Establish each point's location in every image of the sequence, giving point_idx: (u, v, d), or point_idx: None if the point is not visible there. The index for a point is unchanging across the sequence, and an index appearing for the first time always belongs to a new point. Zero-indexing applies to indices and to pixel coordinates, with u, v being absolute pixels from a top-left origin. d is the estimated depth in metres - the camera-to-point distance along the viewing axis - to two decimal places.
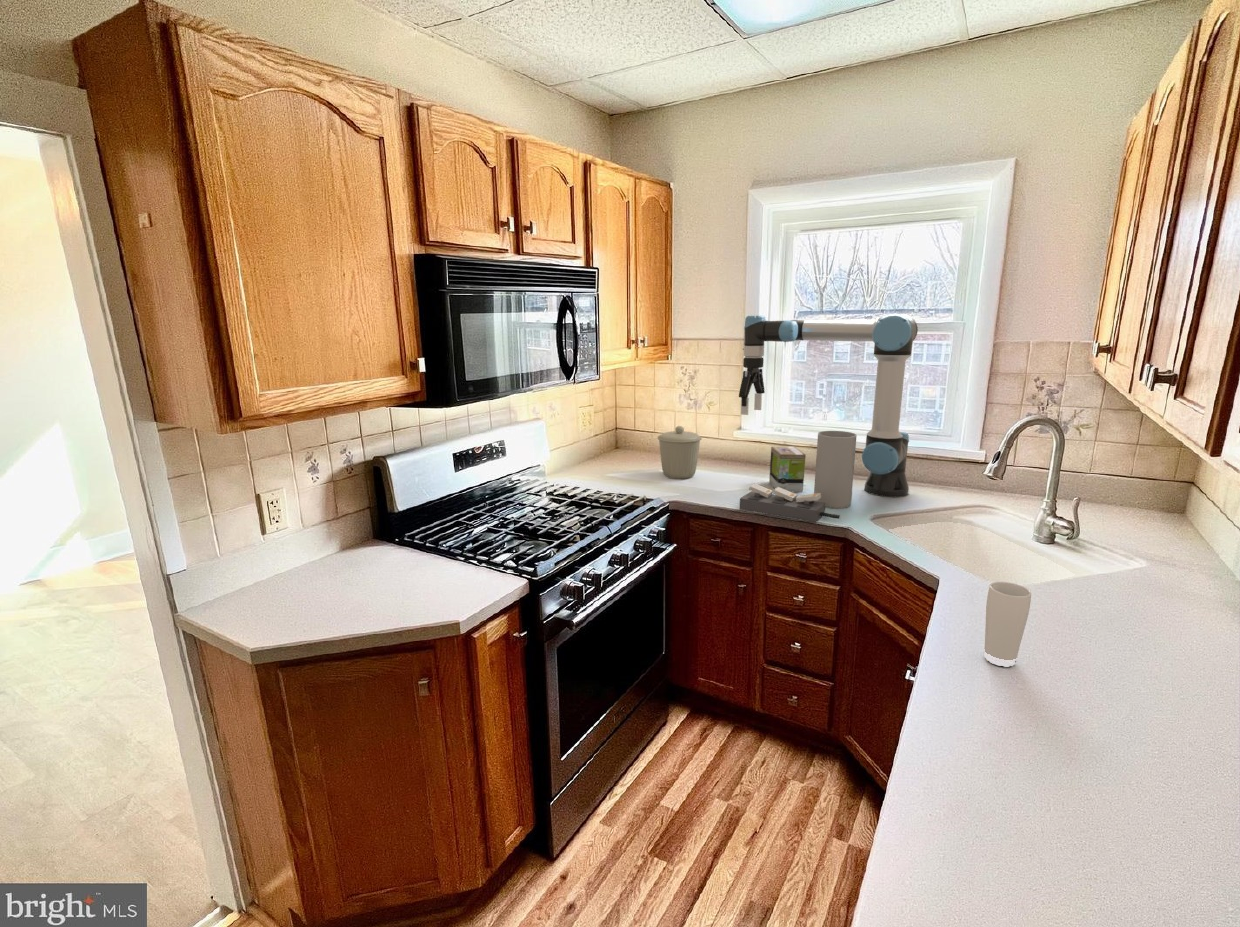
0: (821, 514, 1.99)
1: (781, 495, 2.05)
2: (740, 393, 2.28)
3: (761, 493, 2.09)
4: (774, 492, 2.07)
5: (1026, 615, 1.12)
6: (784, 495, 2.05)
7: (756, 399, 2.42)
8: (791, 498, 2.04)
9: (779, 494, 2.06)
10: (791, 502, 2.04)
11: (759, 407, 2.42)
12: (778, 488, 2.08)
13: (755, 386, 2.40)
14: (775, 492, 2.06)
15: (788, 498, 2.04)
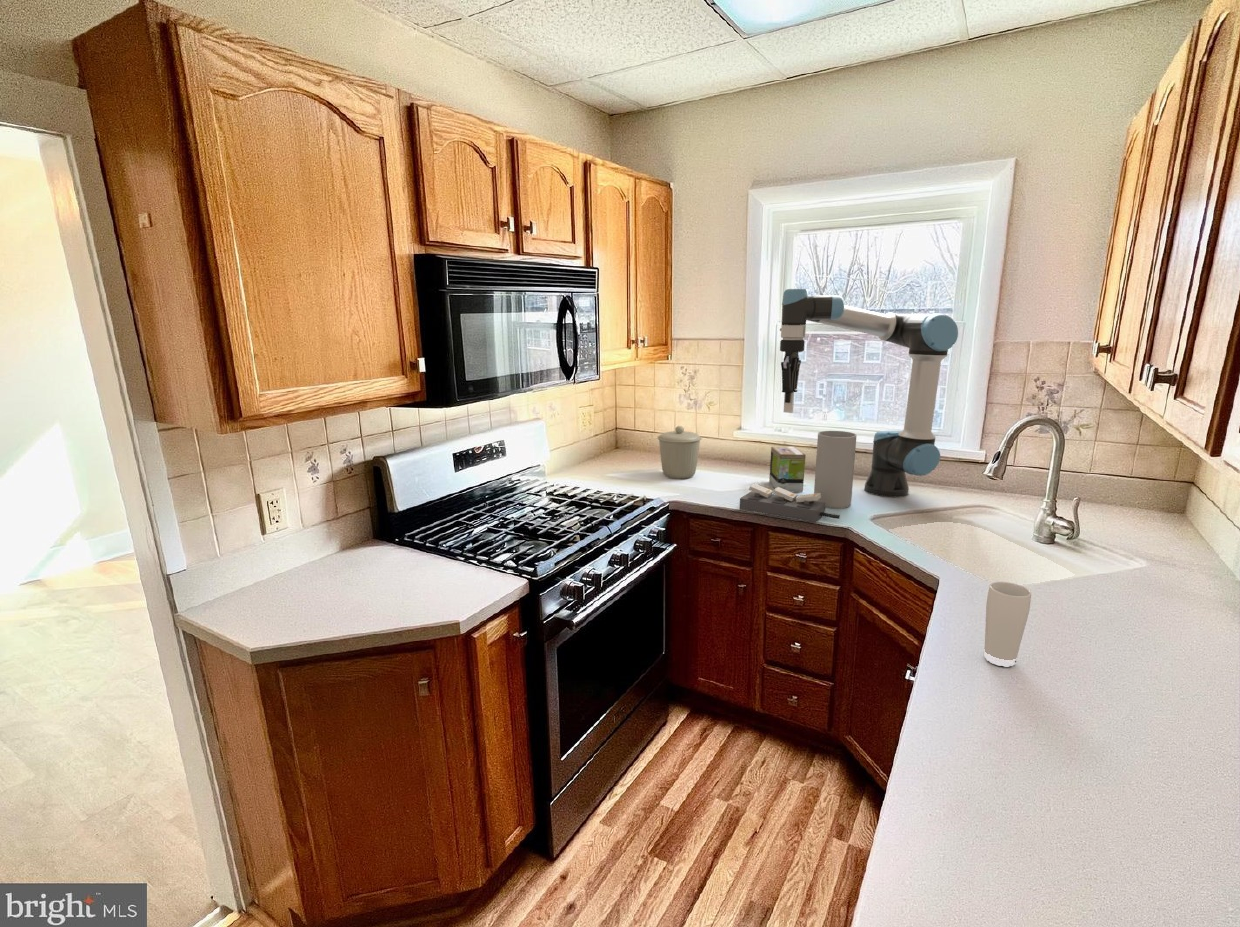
0: (821, 514, 1.99)
1: (781, 495, 2.05)
2: (783, 389, 1.96)
3: (761, 493, 2.09)
4: (774, 492, 2.07)
5: (1026, 615, 1.12)
6: (784, 495, 2.05)
7: None
8: (791, 498, 2.04)
9: (779, 494, 2.06)
10: (791, 502, 2.04)
11: None
12: (778, 488, 2.08)
13: None
14: (775, 492, 2.06)
15: (788, 498, 2.04)
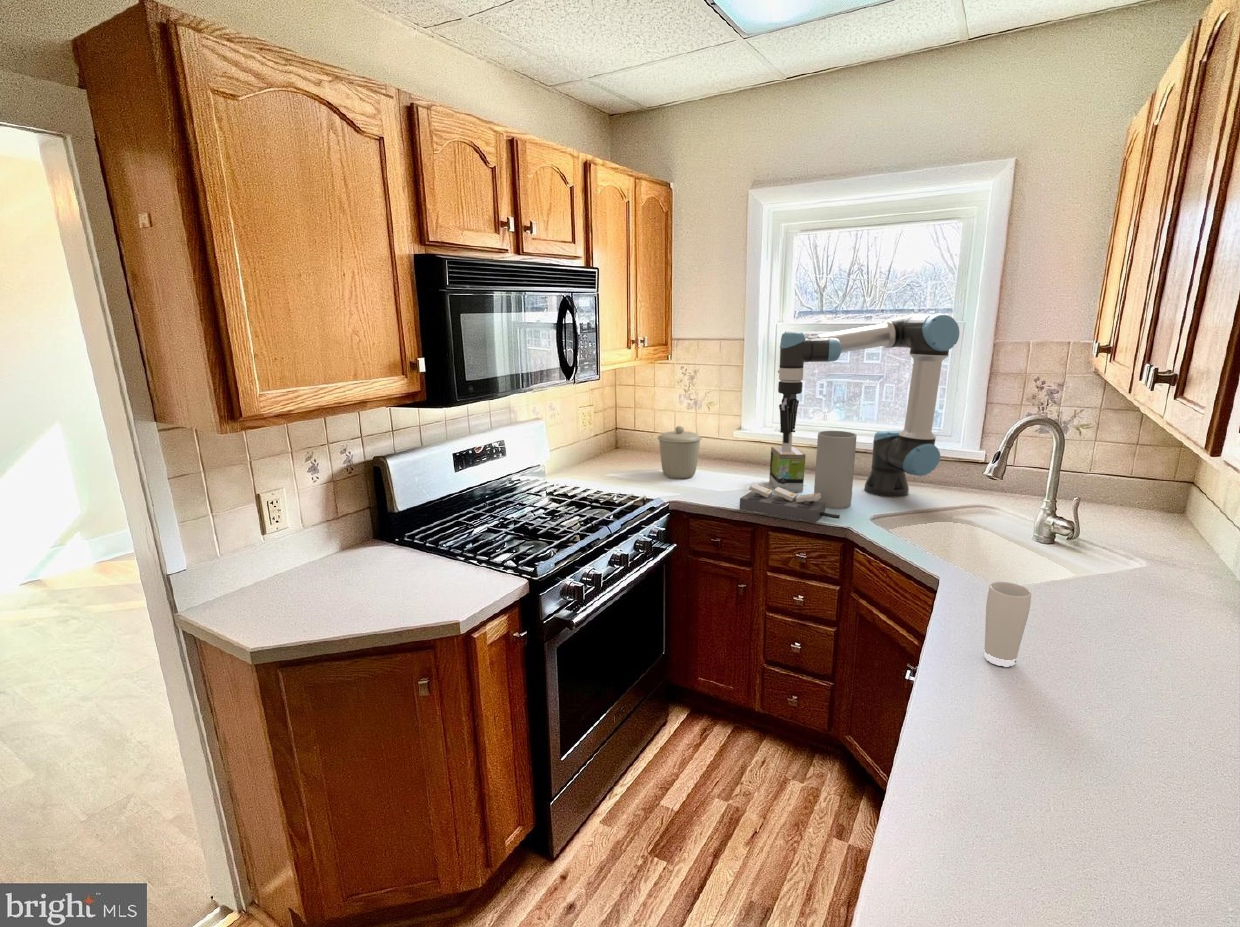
0: (821, 514, 1.99)
1: (781, 495, 2.05)
2: (781, 430, 1.99)
3: (761, 493, 2.09)
4: (774, 492, 2.07)
5: (1026, 615, 1.12)
6: (784, 495, 2.05)
7: None
8: (791, 498, 2.04)
9: (779, 494, 2.06)
10: (791, 502, 2.04)
11: None
12: (778, 488, 2.08)
13: None
14: (775, 492, 2.06)
15: (788, 498, 2.04)
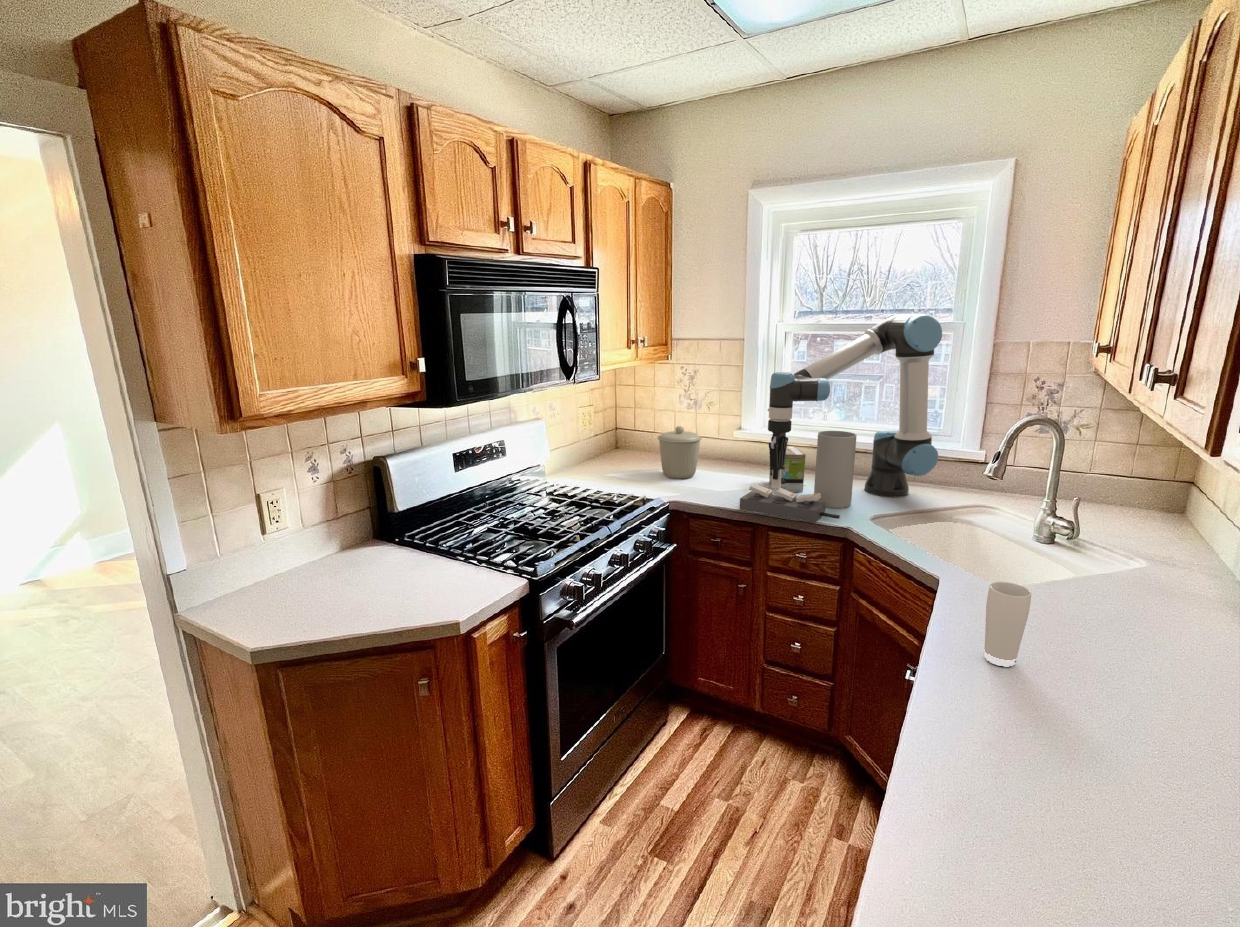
0: (821, 514, 1.99)
1: (781, 495, 2.05)
2: (771, 467, 2.04)
3: (761, 493, 2.09)
4: (774, 492, 2.07)
5: (1026, 615, 1.12)
6: (784, 495, 2.05)
7: None
8: (791, 498, 2.04)
9: (779, 494, 2.06)
10: (791, 502, 2.04)
11: None
12: None
13: None
14: (775, 492, 2.06)
15: (788, 498, 2.04)
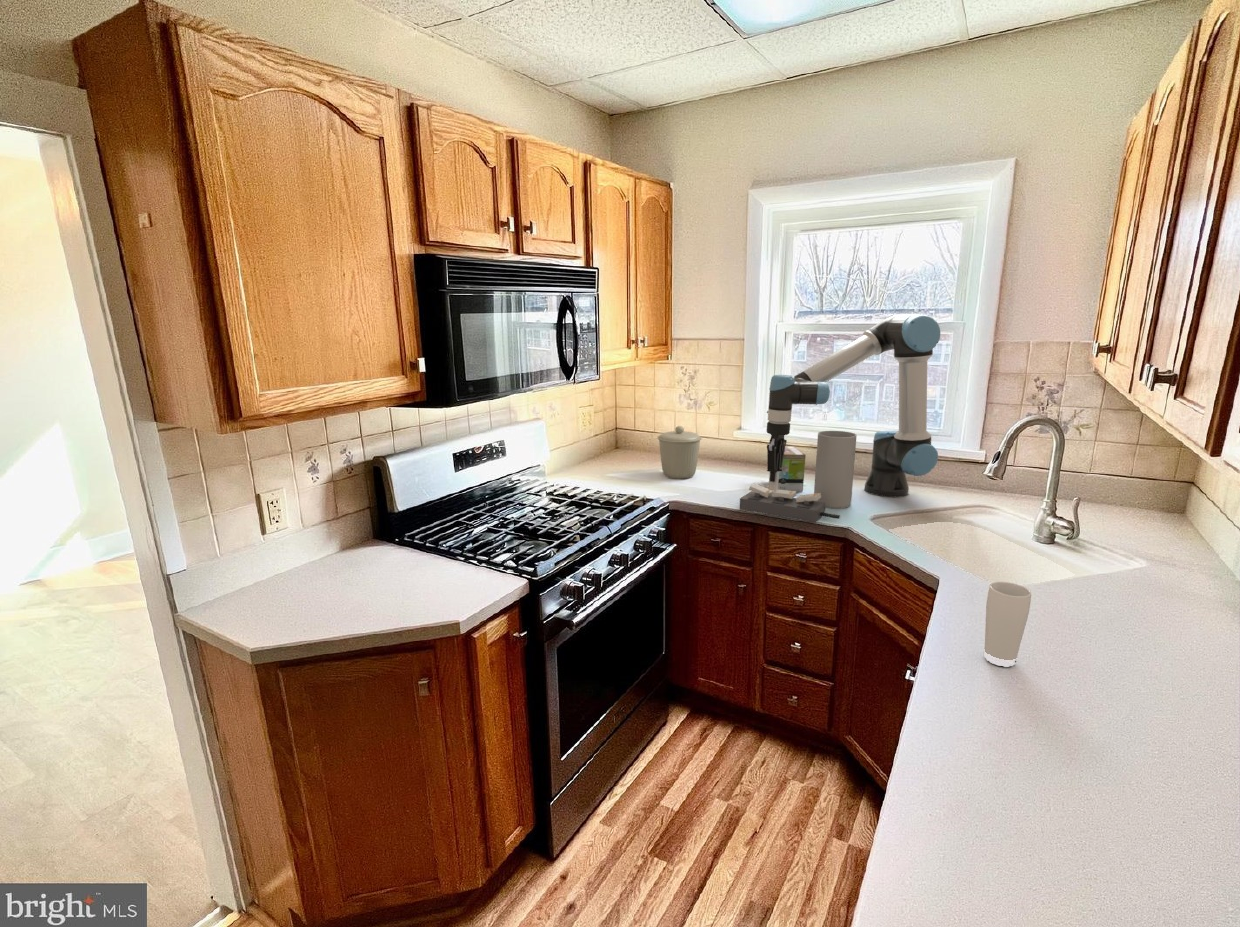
0: (821, 514, 1.99)
1: (780, 495, 2.06)
2: (768, 469, 2.04)
3: (761, 493, 2.09)
4: (773, 494, 2.07)
5: (1026, 615, 1.12)
6: (783, 494, 2.05)
7: None
8: (790, 495, 2.04)
9: (778, 495, 2.06)
10: (791, 502, 2.04)
11: None
12: None
13: None
14: (774, 494, 2.07)
15: (788, 496, 2.04)
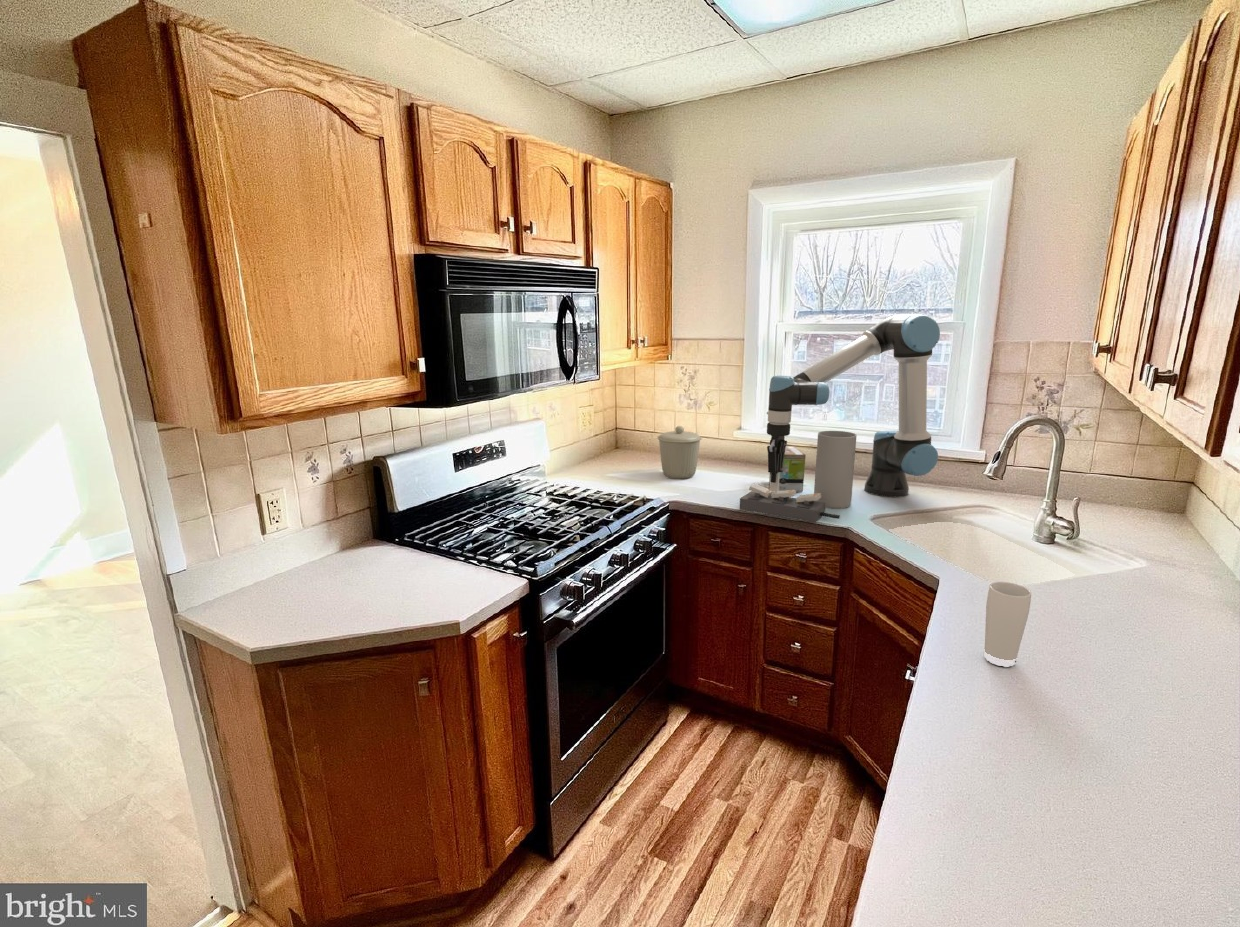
0: (821, 514, 1.99)
1: (780, 495, 2.06)
2: (769, 470, 2.04)
3: (761, 493, 2.09)
4: (772, 496, 2.07)
5: (1026, 615, 1.12)
6: (782, 494, 2.05)
7: None
8: (790, 494, 2.04)
9: (778, 495, 2.06)
10: (791, 502, 2.04)
11: None
12: None
13: None
14: (773, 495, 2.07)
15: (787, 495, 2.04)
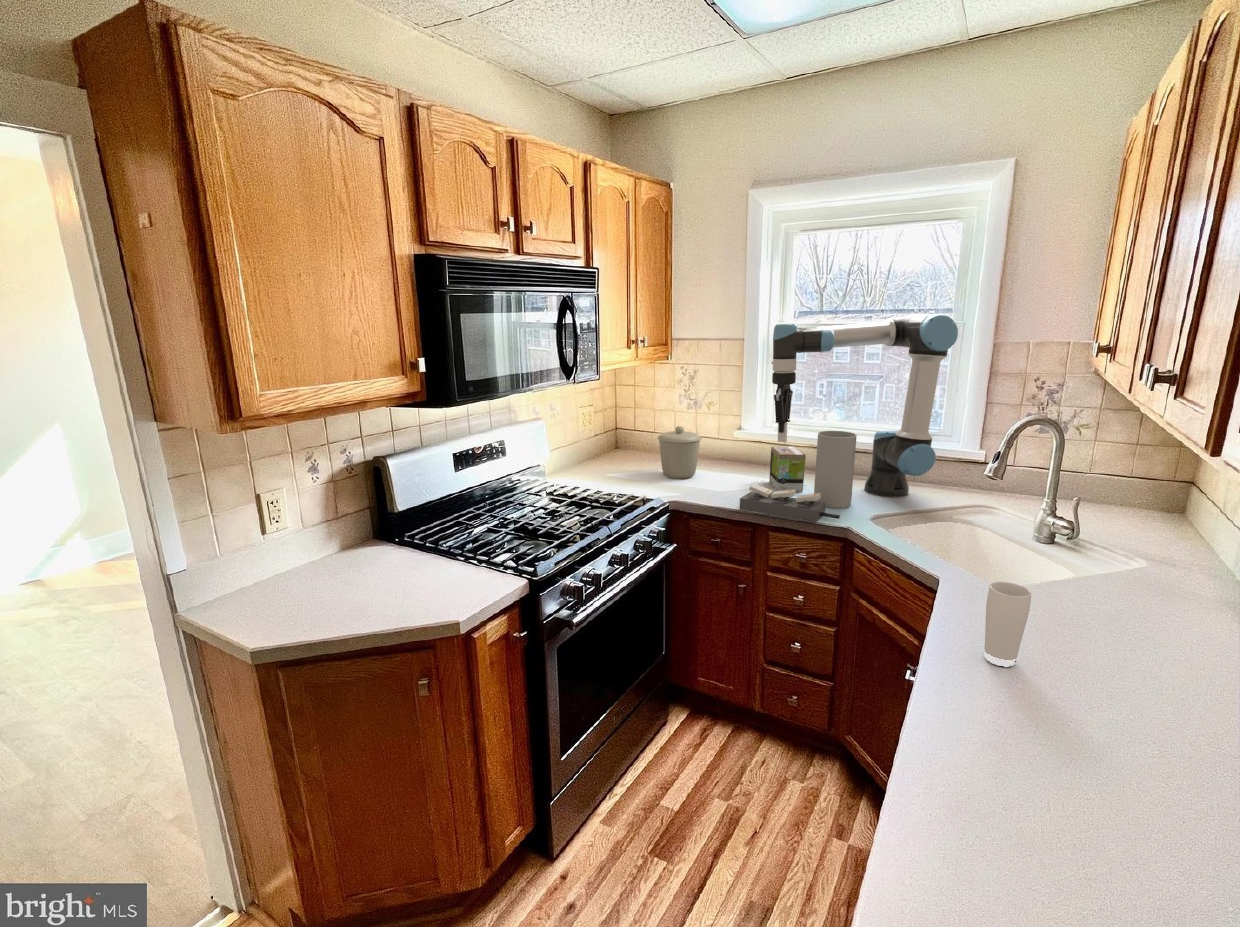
0: (821, 514, 1.99)
1: (780, 495, 2.06)
2: (777, 420, 2.03)
3: (761, 493, 2.09)
4: (772, 496, 2.07)
5: (1026, 615, 1.12)
6: (782, 494, 2.05)
7: None
8: (789, 493, 2.04)
9: (778, 495, 2.06)
10: (791, 502, 2.04)
11: None
12: (775, 492, 2.09)
13: None
14: (773, 496, 2.07)
15: (787, 495, 2.04)
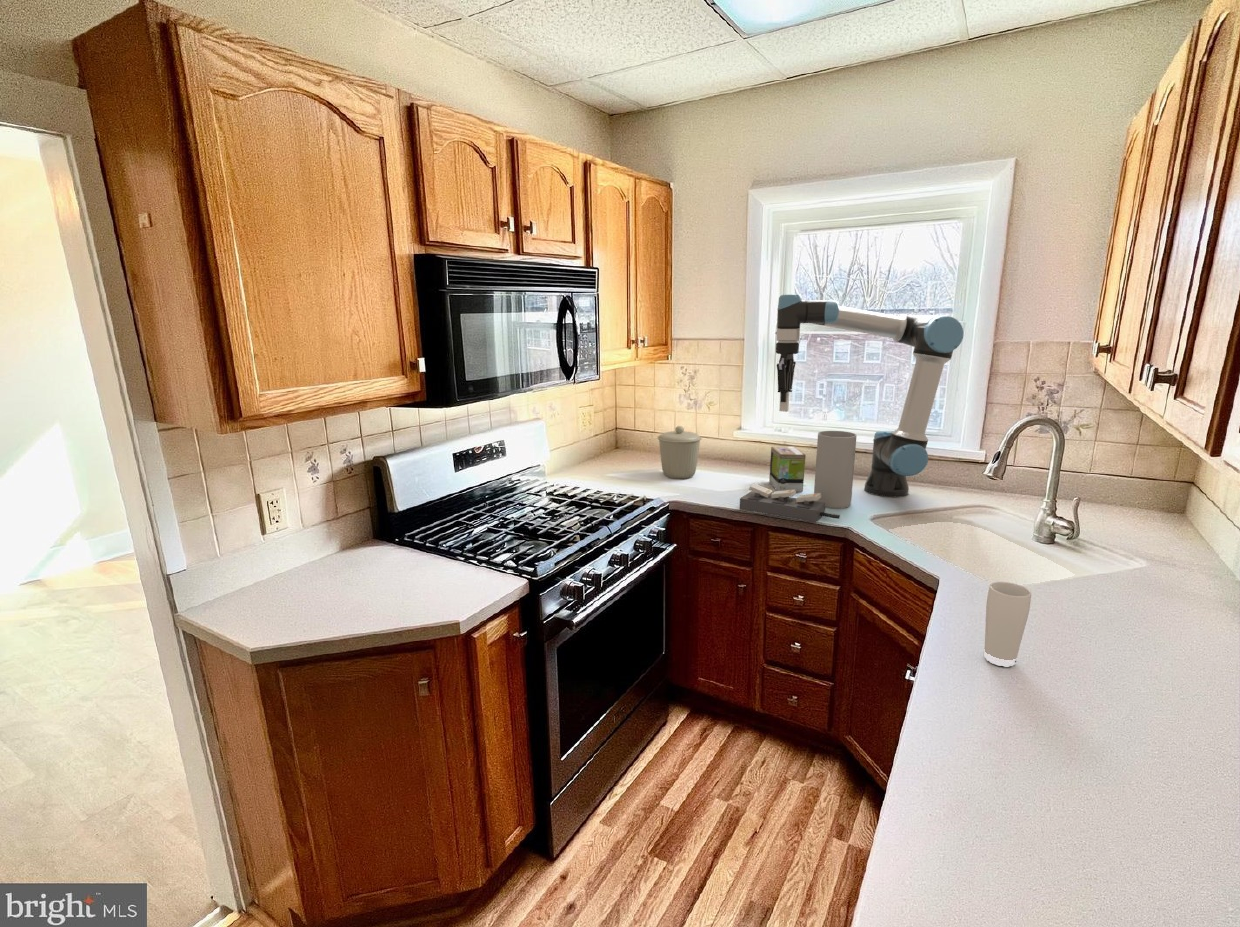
0: (821, 514, 1.99)
1: (780, 495, 2.06)
2: (779, 389, 2.07)
3: (761, 493, 2.09)
4: (772, 496, 2.07)
5: (1026, 615, 1.12)
6: (782, 494, 2.05)
7: None
8: (789, 493, 2.04)
9: (778, 495, 2.06)
10: (791, 502, 2.04)
11: None
12: (775, 492, 2.09)
13: None
14: (773, 496, 2.07)
15: (787, 495, 2.04)
